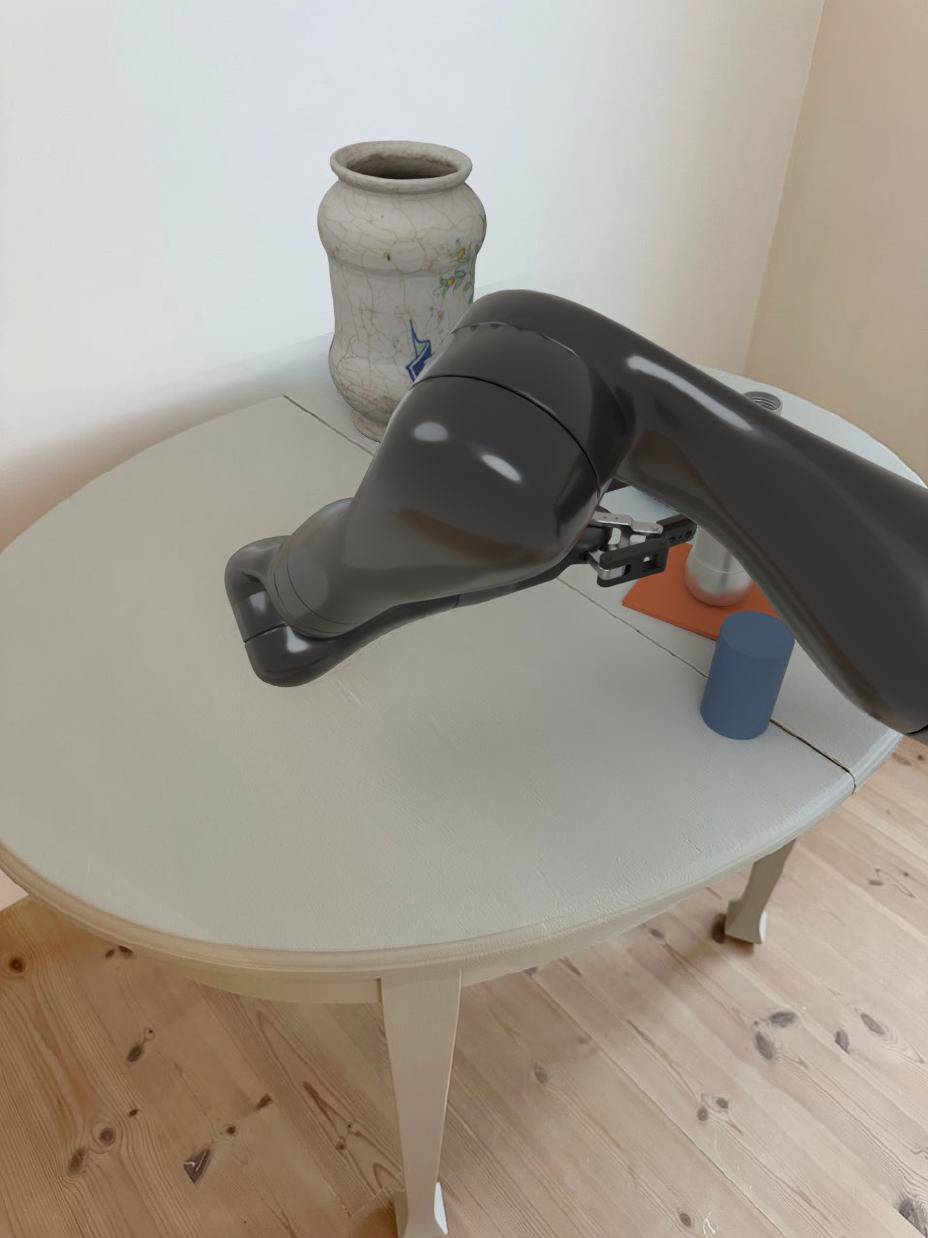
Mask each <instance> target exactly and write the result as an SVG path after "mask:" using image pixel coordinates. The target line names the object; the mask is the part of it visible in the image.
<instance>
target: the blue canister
mask: <svg viewBox="0 0 928 1238" xmlns="http://www.w3.org/2000/svg"><path fill="white" fill-rule="evenodd" d="M795 643H796V639H795V638H794V637H793V635H792V634H791V632H790V631H789V630H788V628H787V627H786V626H785V624H784V623H783V622H782V620H780V619H778V618H776V617H774V616H772V615H770V614H767V613H763V612H758V611H740V612H736V613H733V614H731V615H729V616H727V617H726V618H725V619H724V620H723V622H722V624H721V628H720V632H719V636H718V640H717V641H716V644H715V649H714V652H713V656H712V661H711V664H710V668H709V670H708V671H709V672H708V675H707V680H706V684H705V687H704V691H703V696H702V700H701V704H700V709H699V711H700V715H701V718H702V720H703V722H704V723H705V724H706V725H707V727H709V729H711V730H712V731H713V732H715V733H716V734H718V735H721V736H722V737H725V738H728V739H732V740H739V741H740V740H741V741H744V740H752V739H755V738H758V737H760V736H761V735H763V734H764V733H765V732H766V731H767V729H768V728H769V725H770V722H771V720H772V719H771V718H772V716H773V712H774V709H775V706H776V703H777V700H778V697H779V693H780V690H781V687H782V684H783V682H784V678H785V675H786V672H787V670H788V666H789V663H790V659H791V656H792V654H793V650H794V648H795Z"/></svg>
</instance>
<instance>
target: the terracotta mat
mask: <svg viewBox="0 0 928 1238" xmlns="http://www.w3.org/2000/svg"><path fill="white" fill-rule="evenodd" d="M693 545H694V544H690V543H688V542H684V543H682V544H679V545H676V546H673V547H670V549H669V554H668V559H667V565H666V569H665V571H663V572H660V573H657V574H653V575H650V576H646V577H643V578H639V579H637V581H636V583H635V584H634V585H633V587H632V588H631V589H630V590H629V591H628V593H626V595H625V596H624V598H623V599H622V601H621V605H622V606H624V607H627V608H629V609H631V610H635V611H637V612H640V613H642V614H645V615H648V616H650V617H653V618H655V619H658V620H661V621H663V622H666V623H669V624H671V625H674V626H677V627H679V628H682V629H685V630H687V631H690V632H692V633H695V634H697V635H699V636H703V637H705V638H708V639H711V640H714V641H715V642H717V640H718V636H719V632H720V628H721V624H722V622H723V620H724V619H725V618H726V617H727V616H729V615H731V614H733V613H736V612H740V611H758V612H763V613H767V614H770V615H772V616H774V617H776V618H778V619H780V617H779V616H778V614H777V613H776V612H775V610H774V609H773V607H772V606H771V605H770V603H769V602H768V600H767V599H766V598H765V596H764V595H763V593H762V592H761V591H760V589H759V588H758V586H757V585H756V584H755V582H754V583H753V585H752V587H751V589H750V591H749V593H748V595H747V596H746V597H745V598H743V599H742V600H740V601H739V602H738V603H736V604H733V605H729V606H714V605H710V604H707V603H704V602H702V601H700V600H699V599H697V598H696V597H695V596H694V595H693V594H692V593H691V592H690V590H689V588H688V586H687V584H686V581H685V565H686V561H687V558H688V556H689V553H690V551H691V549H692V547H693ZM780 620H781V619H780Z"/></svg>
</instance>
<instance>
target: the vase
mask: <svg viewBox="0 0 928 1238" xmlns="http://www.w3.org/2000/svg"><path fill="white" fill-rule="evenodd" d="M329 166H330V170H331V171H332V172H333V173H334V175H335V176H336V177H337V178H338V179H337V181H335V182H334V183H333V184H332V185H331V187H329V188H328V190H327V191H326V192H325V194H324V195H323V197H322V199H321V201H320V203H319V205H318V210H317V216H316V217H317V218H316V219H317V220H316V223H317V226H316V227H317V231H318V236H319V239H320V243H321V245H322V247H323V250H324V251H325V253H326V256H327V263H328V270H329V271H328V273H329V281H330V282H329V283H330V290H331V297H332V303H333V315H334V317H333V319H334V334H333V336H332V340H331V343H330V346H329V350H328V358H327V359H328V363H327V364H328V370H329V373H330V377H331V381H332V382H333V384H334V387H335V389H336V391H337V392H338V393H339V395H340V396H341V397H342V399H343V400H344V402H345V403H346V404H347V405H348V406H349V407H350V408H352V409H353V410H352V413H351V414H352V416H351V417H352V422H353V424H354V426H355V428H356V429H357V431H358V432H359V433H361V434H362V435H363V436H365V437H367V438H368V439H370V440H373V441H376V442H378V443H380V442H381V440H382V437H383V435H384V432H385V430H386V427H387V424H388V422H389V420H390V417H391V415H392V414H393V412H394V410H395V409H396V407H397V406H398V404H399V403H400V401H401V400H402V398H403V397H404V395H405V394H406V393H407V391H408V390H409V388H410V387H411V385H412V384H413V382H414V381H415V380H416V378H417V377H418V375H419V374H420V372H421V371H422V369H423V368H424V367H425V365H426V364H427V362H428V361H429V359H430V358H431V356H432V355H433V354H434V352H435V351H436V349H437V348H438V347H439V345H440V343H441V341H442V340H443V339H444V337H445V336H446V335H447V333H448V332H449V330H450V329H451V328H452V326H453V325H454V324H455V322H456V321H457V320H458V318H459V317H460V316H461V315H462V314H463V312H464V311H465V310H466V309H467V308H468V307H469V306H470V305H471V304H473V303H474V299H475V297H474V296H475V285H476V284H475V283H476V264H477V263H476V262H477V258H478V255H479V253H480V251H481V249H482V247H483V244H484V242H485V239H486V235H487V227H488V220H487V213H486V210H485V206H484V204H483V202H482V200H481V198H480V197H479V196H478V195H477V194H476V192H475V190H474V189H473V188H472V187H471V186H470V185H469V184H467V182H466V181H467V179H468V178H469V177H470V175H471V173H472V171H473V162H472V160H471V158H470V157H469V156H468V155H467V154H465V153H464V152H462V151H460V150H459V149H457V148H453V147H449V146H446V145H442V144H436V143H430V142H421V141H414V140H375V141H374V140H373V141H372V140H371V141H361V142H356V143H352V144H348V145H344V146H343V147H340V148H338V149H336V150H335V151H334V152H333V153H331V155H330V156H329Z"/></svg>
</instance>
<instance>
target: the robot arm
mask: <svg viewBox="0 0 928 1238" xmlns="http://www.w3.org/2000/svg"><path fill="white" fill-rule="evenodd" d="M628 487H632V488H633V489H636V490H638V491H640V492H642V493H644V494H646V495H647V496H650V497H651V498H653V499H655V500H656V501H658V502H659V503H662V504H664V505H665V506H667V507H669V508H670V509H672V510H674V511H676V512H678V513H679V514H675V515H672V516H668V517H666V518H663V519H659V520H656V522H647V521H645V522H644V521H638V520H637V521H635V520H634V519H633V516H631V515H629V514H623V513H612V512H611V511H610V510H609V509H607V508H605V507H604V506H602V505H600V503H601V502H602V500H603V498H604V496H605V494H609V493H611V492H614V491H617V490H621V489H625V488H628ZM698 526H699V527H701V528H703V529H704V530H705V531H707V532H708V533H709V534H710V535H711V536H713V537H714V538H715V539H716V540H717V541H718V542H719V543H720V544H722V545H723V546H724V547H725V548H726V549H727V550H728V552H729V553H730V554H731V555H732V556H733V557H734V558H735V559H736V560H737V561H738V562H739V563H740V564H741V566H742V567H743V568H744V569H745V571H746V572H747V573H748V575H749V576H750V577H751V579H752V580H753V581H754V582H755V584H756V585H757V586H758V588H759V589H760V591H761V592H762V593H763V595H764V596H765V598H766V599H767V600H768V602H769V603H770V605H771V606H772V607H773V609H774V610H775V612H776V613H777V614H778V616H779V617H780V619H781V620H782V622H783V623H784V624H785V626H786V627H787V628H788V630H789V631H790V632H791V634H792V635H793V637H794V638H795V642H797V644H798V645H799V646H800V648H801V649H802V650H803V651H804V652H805V654H806V655H807V656H808V657H809V659H810V660H811V661H812V663H814V665H815V666H816V668H817V669H818V670H819V671H820V673H822V675H823V676H824V677H825V678H826V679H827V680H828V681H829V683H830V684H831V685H832V686H833V687H834V688H835V689H836V690H837V691H838V692H839V694H841V695H842V697H843V698H845V700H847V701H848V702H849V703H850V704H852V705H853V706H854V707H855V708H856V709H857V710H858V711H860V712H861V713H863V714H864V715H865V716H867V717H869V718H870V719H872V720H874V721H875V722H877V723H879V724H882V725H883V726H885V727H887V728H889V729H891V730H893V731H894V732H896V733H898V734H901V735H902V736H905V737H907V738H909V739H911V740H913V741H915V742H916V743H919V744H921V745H923V746H925V747H927V748H928V488H927V487H925V486H922V485H920V484H919V483H916V482H914V481H912V480H910V479H908V478H906V477H904V476H902V475H900V474H897V473H896V472H893V471H891V470H889V469H888V468H886V467H883V466H881V465H879V464H877V463H876V462H873V461H871V460H870V459H867V458H866V457H863V456H861V455H859V454H857V453H855V452H853V451H851V450H848V449H847V448H845V447H843V446H841V445H839V444H836V443H835V442H832V441H830V440H828V439H826V438H824V437H822V436H820V435H818V434H816V433H813V432H812V431H810V430H808V429H806V428H804V427H803V426H800V425H798V424H796V423H794V422H793V421H791V420H789V419H787V418H785V417H783V416H782V415H778V414H776V413H774V412H772V411H771V410H769V409H767V408H765V407H763V406H761V405H760V404H758V403H756V402H754V401H753V400H751V399H749V398H747V397H746V396H744V395H742V393H740V392H739V391H737V390H735V389H733V388H732V387H730V386H729V385H727V384H725V383H723V382H722V381H720V380H718V379H717V378H715V377H713V376H712V375H710V374H708V373H706V372H705V371H703V370H701V369H700V368H698V367H696V366H694V365H693V364H692V363H690V362H687V361H686V360H685V359H683V358H681V357H679V356H678V355H676V354H674V353H673V352H671V351H669V350H667V349H666V348H664V347H662V346H661V345H659V344H657V343H656V342H654V341H652V340H650V339H649V338H647V337H645V336H643V335H641V334H640V333H638V332H636V331H634V330H633V329H631V328H629V327H628V326H626V325H624V324H622V323H620V322H618V321H616V320H614V319H612V318H610V317H608V316H606V315H604V314H603V313H600V312H599V311H597V310H595V309H592V308H590V307H588V306H586V305H583V304H581V303H579V302H576V301H573V300H571V299H569V298H566V297H562V296H559V295H557V294H552V293H549V292H544V291H540V290H535V289H528V288H525V289H524V288H523V289H522V288H521V289H520V288H506V289H501V290H497V291H493V292H491V293H487V294H485V295H483V296H481V297H479V298H477V299H476V300H475V301H473V304H471V305H470V306H469V307H468V308H467V309H466V310H465V311H464V312H463V314H462V315H461V316H460V317H459V318H458V320H457V321H456V322H455V324H454V325H453V326H452V328H451V329H450V330H449V332H448V333H447V335H446V336H445V337H444V339H443V340H442V341H441V343H440V345H439V347H438V348H437V349H436V351H435V352H434V354H433V355H432V356H431V358H430V359H429V361H428V362H427V364H426V365H425V367H424V368H423V369H422V371H421V372H420V374H419V375H418V377H417V378H416V380H415V381H414V382H413V384H412V385H411V387H410V388H409V390H408V391H407V393H406V394H405V395H404V397H403V398H402V400H401V401H400V403H399V404H398V406H397V407H396V409H395V410H394V412H393V414H392V415H391V417H390V420H389V422H388V424H387V427H386V430H385V432H384V435H383V437H382V440H381V442H379V444H378V447H377V449H376V451H375V453H374V455H373V458H372V459H371V461H370V464H369V465H368V467H367V470H366V472H365V474H364V476H363V478H362V480H361V482H360V484H359V486H358V488H357V490H356V492H355V494H354V496H352V497H346V498H341V499H338V500H336V501H333V502H331V503H328V504H326V505H325V506H322V507H321V508H320V509H319V510H317V511H316V512H314V513H313V514H312V515H310V516H309V517H308V518H307V519H305V521H304V522H303V523H302V524H301V525H299V526H298V527H297V528H296V530H294V531H293V532H292V533H291V534H287V535H285V534H284V535H276V536H269V537H266V538H265V537H264V538H262V539H258V540H255V541H252V542H250V543H247V544H246V545H244V546H242V547H241V548H239V549H237V551H235V552H234V553H233V554H232V555H231V556H230V558H229V559H228V560H227V563H226V566H225V569H224V570H225V571H224V575H223V576H224V577H223V578H224V579H223V580H224V588H225V592H226V596H227V599H228V602H229V605H230V607H231V610H232V613H233V616H234V619H235V622H236V625H237V628H238V630H239V631H238V632H239V634H240V637H241V639H242V642H243V643H244V648H245V653H246V655H247V658H248V660H249V663H250V666H251V669H252V671H253V672H254V674H255V676H256V677H257V678H258V679H259V680H261V681H262V682H263V683H265V684H268V685H270V686H273V687H279V688H297V687H300V686H303V685H306V684H309V683H311V682H313V681H315V680H316V679H319V678H320V677H322V676H323V675H325V674H327V673H328V672H329V671H331V670H332V669H334V668H335V667H337V666H338V665H340V664H341V663H342V662H344V661H345V660H347V659H348V658H349V657H351V656H352V655H354V654H355V653H357V652H358V651H360V650H361V649H362V648H364V647H366V646H367V645H369V644H371V643H372V642H373V641H375V640H377V639H379V638H381V637H383V636H385V635H386V634H388V633H390V632H392V631H394V630H397V629H400V628H401V627H404V626H406V625H409V624H411V623H414V622H417V621H419V620H422V619H426V618H429V617H433V616H435V615H438V614H441V613H444V612H448V611H451V610H454V609H458V608H462V607H468V606H470V607H471V606H474V605H478V604H482V603H486V602H489V601H492V600H496V599H499V598H501V597H505V596H508V595H511V594H515V593H517V592H520V591H523V590H526V589H529V588H532V587H535V586H536V587H537V586H539V585H542V584H545V583H548V582H550V581H553V580H555V579H557V578H558V577H559V576H561V574H562V573H563V572H564V571H566V569H568V568H569V567H570V566H574V565H589V566H591V568H592V569H593V570H594V571H595V572H596V573H597V576H596V584H597V586H599V587H600V588H605V589H606V588H611V587H614V586H618V585H621V584H626V583H629V582H632V581H635V580H639V579H640V578H643V577H646V576H650V575H653V574H657V573H660V572H663V571H665V569H666V565H667V559H668V554H669V549H670V547H673V546H676V545H679V544H682V543H684V542H685V543H688V542H691V541H692V540H693V539H694V538H695V535H696V534H697V529H698ZM614 529H617V530H619V532H620V534H619V541H618V542H617V543H614V544H613V543H610V541H611V539H612V537H613V531H614ZM632 536H639V537H641V536H642V537H645V538H644V541H640V542H638V541H632V540H631V537H632ZM646 558H648V560H645V559H646Z"/></svg>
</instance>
